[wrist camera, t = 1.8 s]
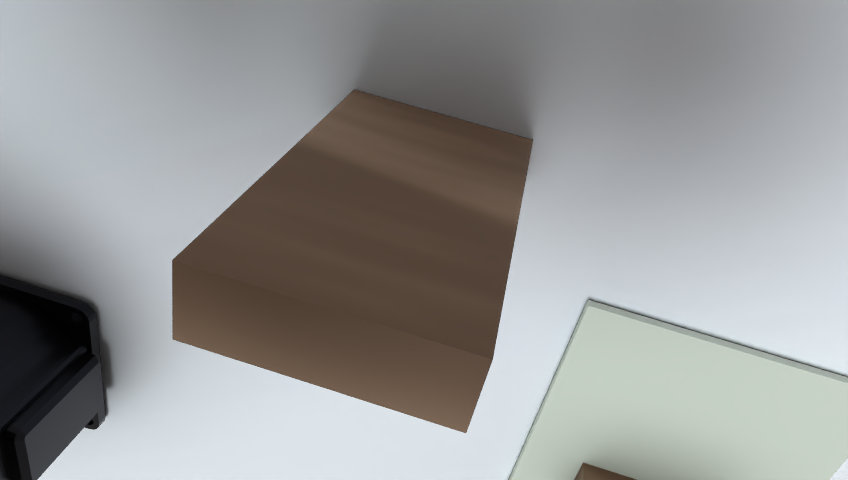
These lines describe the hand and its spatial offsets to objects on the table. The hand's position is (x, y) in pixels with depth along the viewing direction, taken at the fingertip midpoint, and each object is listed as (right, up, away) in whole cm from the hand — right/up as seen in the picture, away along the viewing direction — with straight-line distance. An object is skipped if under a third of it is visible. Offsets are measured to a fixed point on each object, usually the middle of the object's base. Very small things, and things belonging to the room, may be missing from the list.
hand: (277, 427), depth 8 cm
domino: (+2, +5, +9) cm, 11 cm away
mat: (+9, -11, +17) cm, 22 cm away
